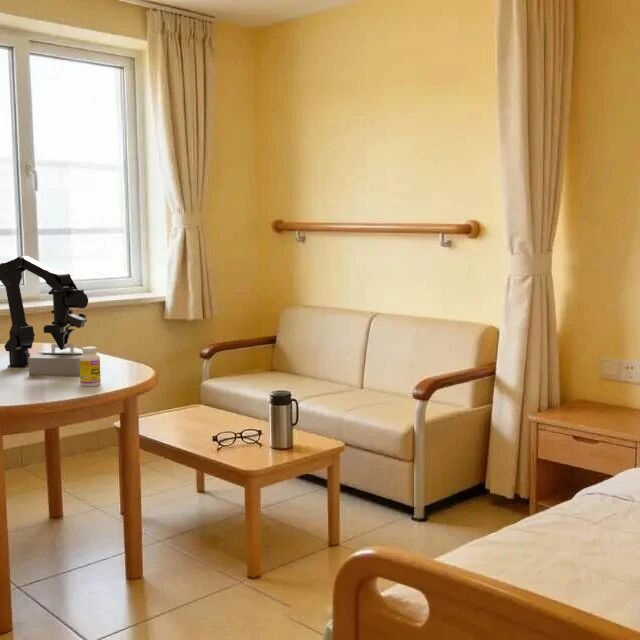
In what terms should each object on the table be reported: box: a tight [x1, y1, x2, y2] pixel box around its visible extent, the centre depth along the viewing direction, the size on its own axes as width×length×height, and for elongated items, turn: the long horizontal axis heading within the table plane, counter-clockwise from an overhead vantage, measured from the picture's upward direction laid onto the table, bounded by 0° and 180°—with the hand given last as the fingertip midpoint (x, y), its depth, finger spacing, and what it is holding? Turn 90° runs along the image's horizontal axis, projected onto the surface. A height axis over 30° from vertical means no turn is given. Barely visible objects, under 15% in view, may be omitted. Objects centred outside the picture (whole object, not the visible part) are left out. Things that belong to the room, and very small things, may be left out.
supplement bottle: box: [79, 346, 101, 388], centre depth 263 cm, size 7×7×13 cm
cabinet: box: [28, 353, 83, 377], centre depth 285 cm, size 18×14×6 cm
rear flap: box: [37, 342, 83, 355], centre depth 288 cm, size 18×7×4 cm, turn 85°
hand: (63, 349), depth 287 cm, fingers open, 2 cm apart
